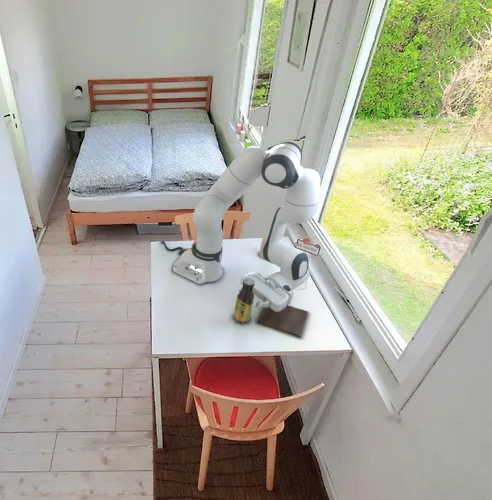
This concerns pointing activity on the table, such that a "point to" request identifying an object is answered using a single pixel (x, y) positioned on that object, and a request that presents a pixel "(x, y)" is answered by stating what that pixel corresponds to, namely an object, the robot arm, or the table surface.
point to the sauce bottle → (244, 301)
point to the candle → (262, 246)
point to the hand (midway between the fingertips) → (248, 298)
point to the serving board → (284, 319)
